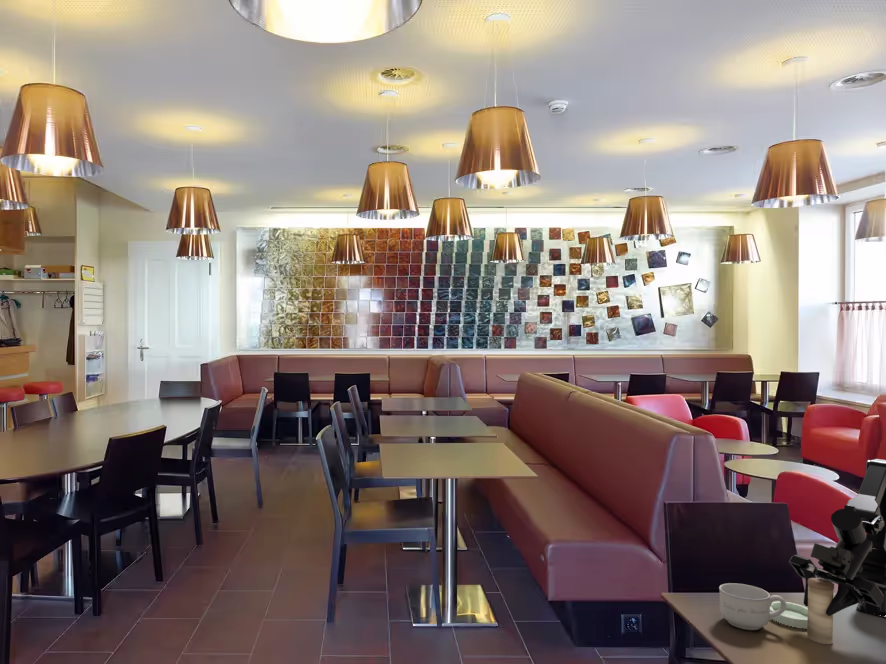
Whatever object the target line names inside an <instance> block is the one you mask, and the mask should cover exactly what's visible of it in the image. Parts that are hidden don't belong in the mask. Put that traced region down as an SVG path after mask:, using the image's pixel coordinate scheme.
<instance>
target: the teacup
mask: <svg viewBox="0 0 886 664" xmlns="http://www.w3.org/2000/svg"><path fill="white" fill-rule="evenodd" d="M718 589H719V610H720V613H721V616H722V617H723V618H724V619H725V620H726V621H727V623H729V625H731V626H733V627H735V628H738V629H741V630H747V631H757V630H760V629H762V628H763V627H765V625H767V624H768V623H769V621H771V620H772V618H773V617H776V616H778V615H780V614H782V613H783V612H784V611H785V609H786V602H787V601H786V600H785V599H784V598H783V597H782V596H781V595H778V594H773V595H770V593H769V592H768V591H766V590H764V589H763V588H761V587H758V586H755V585H749V584H744V583H733V582H732V583H731V582H728V583H723V584H720V585H719V587H718ZM775 601H780V602H781V607H780V608H779V609H778V610H776V611H774V612H770V606H771V604H772V602H775ZM772 621H773V620H772Z"/></svg>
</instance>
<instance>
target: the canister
mask: <svg viewBox="0 0 886 664" xmlns="http://www.w3.org/2000/svg"><path fill="white" fill-rule="evenodd" d="M834 589H835V583H833V582H831V581H828V580H825V579H823V578H821V579H820V578H809V579H808V606H807V608H808V621H807V629H806V630H807V631H806V634H807V637H806V638H808V639H809V640H810V641H812V642H815V643H818V644H822V645H831V644H833V641H834V640H833V638H834V635H833V632H834V631H833V630H834V629H833V628H834V614H833V615H831V616H828V615H827V614H826V611H827V608H828V606H829V605H830V603H831V601H832V600H833V598H834Z"/></svg>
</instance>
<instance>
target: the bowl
mask: <svg viewBox="0 0 886 664" xmlns="http://www.w3.org/2000/svg"><path fill="white" fill-rule="evenodd" d="M785 602H786V609H785V611H784V612H783V613H782V614H780V615H778V616H776V617H773V618H772V619H773V620H772V621H774V620H775V621H774V622H776V621H777V622H776V623H778V622H779V623H778V624H780V623H782V624H781V625H783V624H785V625H784V626H786V625H789V626H788V627H790V626H792V627H791V628H793V627H797V629H802V628H803V629H804V630H807V621H808V606H805V605H803V604H802V605H801V604H798V603H796V602H795V603H794V602H790V601H785ZM780 607H781V602H780V601H779V600H775V601H773V602H772V604H771V606H770V612H774V611H776V610H778V609H779V608H780Z"/></svg>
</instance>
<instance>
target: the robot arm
mask: <svg viewBox="0 0 886 664" xmlns="http://www.w3.org/2000/svg"><path fill="white" fill-rule="evenodd" d="M865 465H866V466H865V475H864V477H863V480H862V481H861V485H860V488H859V490H858V493H857V496H855V497H853V498H851V499H849V500H848V501H847V503H846V504H844V507H843V508H840V509H836V510H835V511H834V512H833V513H832V514H831V515H830V520H831V523H832V527H833V529H834V531H835V534H836V536H837V538H838V539H839V540H838V542H837V544H836V545H835V547H834V546H830V547H829V546H824V545H822V544H819V543H816V542H815V543H814V544H813V547H812V551H811V554H810V558H815V559H816V560H818V561H817V564H819V566H820V568H819V567H817V566H816V565H815V564H814V561H812V559H810V558H807V557H805V556H802V555H799V554H793V555H792V556H791V557H790V559H789V561H788V563H789V565H790V566H791V567H792V568H793V570H794V571H795V573H796V574H797V575H798V576H799V577H800V578H802V579H804V580H805V585H804V586H805V587H804V596H803V606H805V607H808V579H809V578H820V579H824V580H828V581H830V582H832V583H833V584H836V585H838V586H837V591H836V593H835V595H833V600H832V601H831V603H830V605H829V606H828V608H827V611H826V614H827V615H828V616H831V615H833V616H834V615H835V614H836V613H839V612H840V611H843V610H845V609H847V608H849V607H851V606H855V605H857V606H856V608H855V609H856V611H858V612H863V613H867V614H871V615H874V614H875V615H874V616H877V615H881V616H885V615H886V459H880V458H873V459H868V460H866V463H865ZM881 616H880V617H881Z"/></svg>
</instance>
